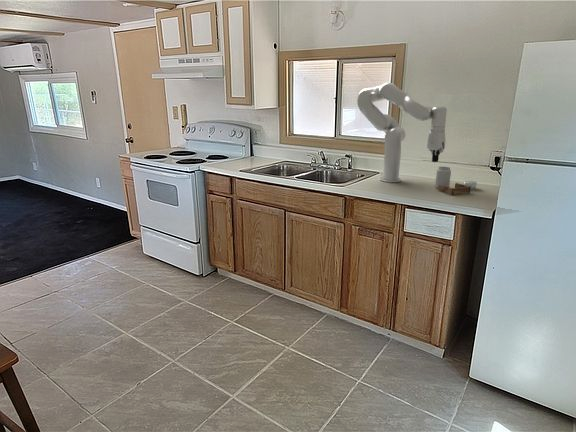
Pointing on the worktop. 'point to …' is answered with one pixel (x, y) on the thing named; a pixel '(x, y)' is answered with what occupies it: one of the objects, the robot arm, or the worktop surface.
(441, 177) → the can
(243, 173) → the worktop surface
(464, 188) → the bay
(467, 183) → the white small piece
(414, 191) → the worktop surface
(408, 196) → the worktop surface
